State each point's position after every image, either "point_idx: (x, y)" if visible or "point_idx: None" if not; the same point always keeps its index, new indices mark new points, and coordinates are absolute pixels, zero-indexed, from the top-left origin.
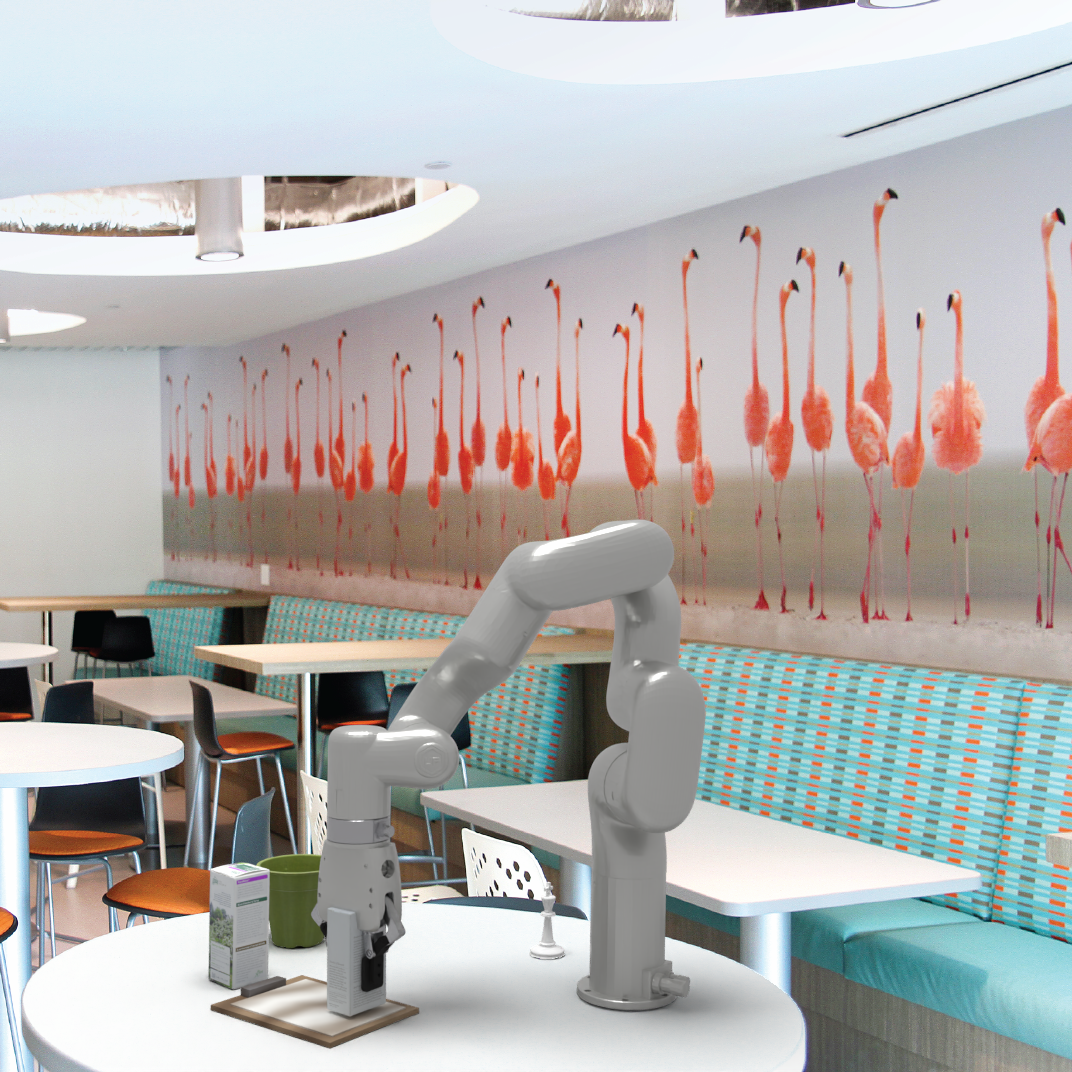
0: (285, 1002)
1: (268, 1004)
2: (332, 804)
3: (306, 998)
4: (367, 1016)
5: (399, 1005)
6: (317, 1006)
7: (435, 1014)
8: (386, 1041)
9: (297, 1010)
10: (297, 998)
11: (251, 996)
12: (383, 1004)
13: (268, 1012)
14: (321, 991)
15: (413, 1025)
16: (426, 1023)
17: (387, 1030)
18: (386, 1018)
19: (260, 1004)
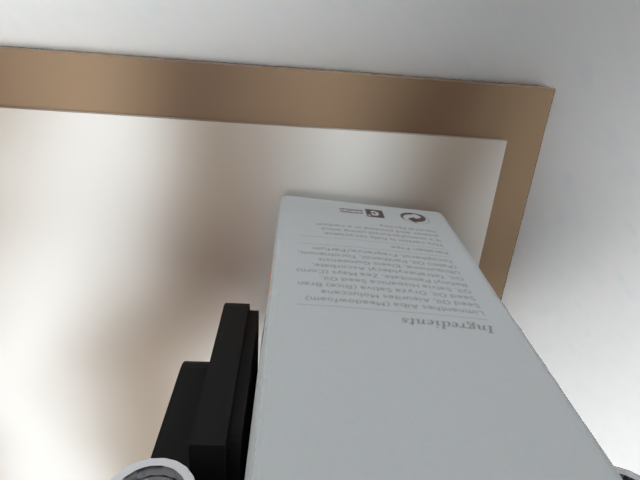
0: (49, 377)
1: (22, 420)
2: None
3: (68, 303)
4: None
5: (471, 140)
6: (183, 342)
7: (622, 53)
8: (567, 380)
9: (161, 409)
10: (39, 321)
11: None
12: (396, 171)
13: (98, 466)
14: (30, 197)
15: (587, 219)
16: (628, 172)
17: (521, 310)
18: (490, 275)
19: (2, 436)
